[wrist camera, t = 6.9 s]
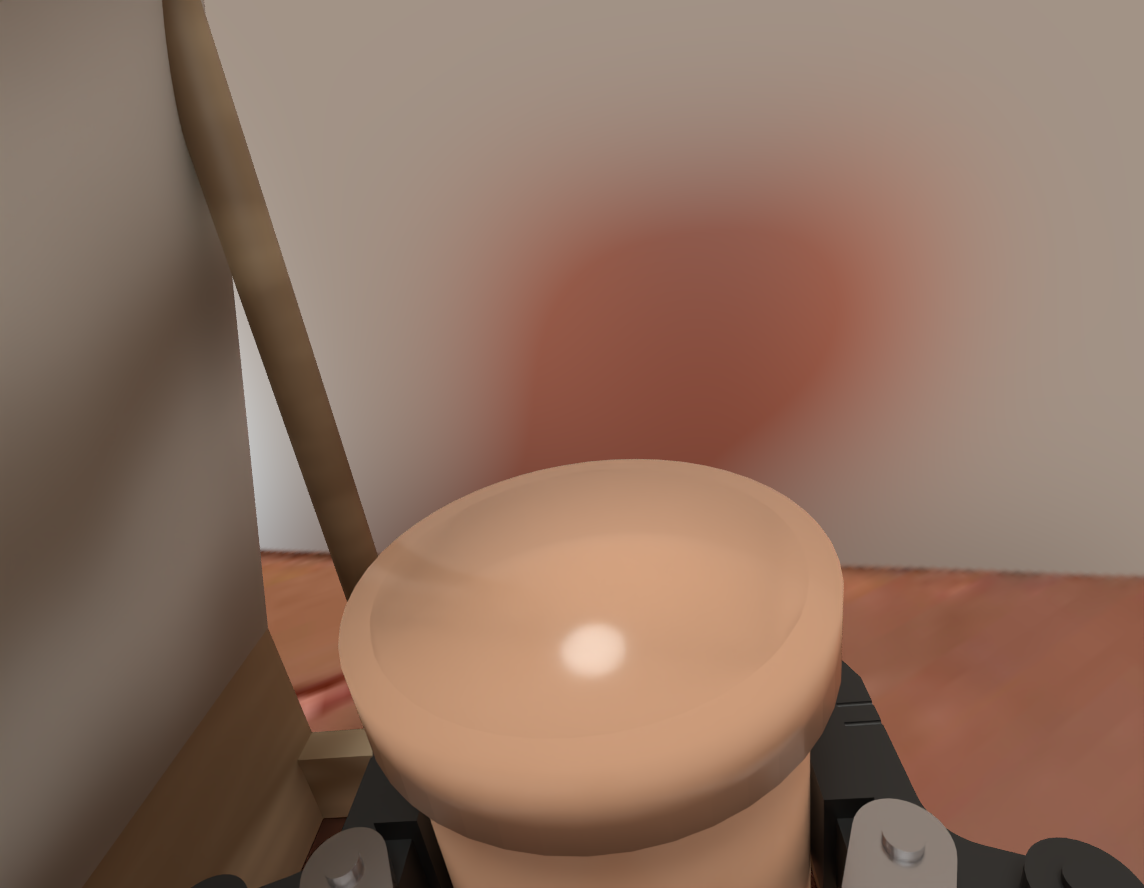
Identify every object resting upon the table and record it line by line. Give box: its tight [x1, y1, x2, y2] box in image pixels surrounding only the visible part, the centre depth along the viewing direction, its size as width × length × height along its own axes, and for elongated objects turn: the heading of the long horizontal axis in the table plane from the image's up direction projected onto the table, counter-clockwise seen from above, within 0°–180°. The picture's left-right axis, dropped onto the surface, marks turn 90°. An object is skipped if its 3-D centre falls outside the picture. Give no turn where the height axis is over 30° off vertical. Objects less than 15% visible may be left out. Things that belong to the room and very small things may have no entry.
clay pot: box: [338, 459, 843, 888], centre depth 12 cm, size 7×7×12 cm
